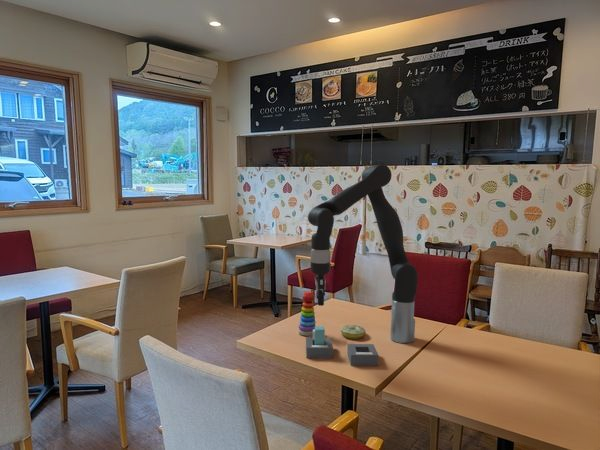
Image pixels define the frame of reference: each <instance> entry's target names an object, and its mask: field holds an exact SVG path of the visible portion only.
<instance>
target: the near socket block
mask: <svg viewBox="0 0 600 450" xmlns="http://www.w3.org/2000/svg"><path fill="white" fill-rule="evenodd" d="M346 355H347V357H348V361H349V364H350V366H351V367H352V366H355V367H360V366H361V367H366V366H367V367H371V366H372V367H376V366H377V367H379V356H380V355H379V354H378V350H377V348H376V346H375V345H374V344H373V343H371V344H370V343H347V354H346Z"/></svg>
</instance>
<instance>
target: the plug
mask: <svg viewBox="0 0 600 450" xmlns="http://www.w3.org/2000/svg"><path fill="white" fill-rule="evenodd" d="M325 333H326V332H325V326H323V325H319V326H318V325H315V329H313V335H312V338H313V339H315V342H314V345H324V340H325V338H326V337H325Z"/></svg>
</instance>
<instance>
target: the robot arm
mask: <svg viewBox="0 0 600 450" xmlns="http://www.w3.org/2000/svg"><path fill="white" fill-rule="evenodd" d="M391 180H392V170H391V168H390V167H389V166H388V165H386V164H383V163H382V164H381V163H380V164H373V165H371V166H367V167H365V168H364V169H363V170H362V173H361V180H360V181H358V182H356V183H355V184H353V185H350V186H349V187H346V188H345V189H343V190H342V191H340V192H338V193H337V194H336V195H334V196H333V197H331V198H330V199H328V200H327V201H324V202H321V203H320V204H318V205H316V206H314V207H313V208H312V209H311V210H310V211H309V213H308V215H307V221H308V222H309V224H311V225H312V226H313V227H316V232H315V233H313V234H312V235H311V240H310V242H311V244H310V245H311V246H310V247H311V248H310V250H311V251H310V273H312V274H313V275H315V276H314V281H315V284H314V285H315V291H316V299H317V305H318V306H321V307H324V305H325V304H324V303H325V295H326V292H325V291H326V282H327V281H326V280H327V278H326V276H325V275H328V274H330V273H331V249H330V248H331V240H330V239H331V238H330V237H331V235H332V232H333V227H334V224H335V218H334V216H340V215H341V214H343V213H344V212H346V211H347V210H348V209H350V208H351V207H352V206H354V205H356V203H358V202H359V201H360V200H362V199H363V198H365V197H366V196H367V197H368V199H369V202H370V204H371V207H372V212H373V213H374V217H375V220H376V223H377V224H376V225H377V228H378V231H379V234H380V236H381V239H382V242H383V246H384V248H385V251H386V252H387V256H388V263H389V267H390V273H391V276H392V279H394V290H393V292H392V295H391V313H390V314H391V315H390V316H391V317H390V318H391V319H390V340H391V341H393V342H396V343H398V344H410V343H412V342H415V330H416V329H415V327H416V319H415V318H414V315H415V298H416V296H417V291H418V290H417V289H418V277H419V276H418V271H417V268H416V267H415V266H414V265H412V264H411V263H410V261H409V259H408V256H407V254H406V251H405V246H404V232H403V231H404V229H403V226H402V222H401V220H400V217H399V214H398V212H397V210H395V208H394V207H393V205H392V204H391V203H390V202H389V201H388V200H387V198H386V196H385V194H384V190H383V187H385V186H387V185H389V183H390V182H391Z"/></svg>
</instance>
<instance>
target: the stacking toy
mask: <svg viewBox="0 0 600 450" xmlns="http://www.w3.org/2000/svg"><path fill="white" fill-rule="evenodd" d="M314 299H315V295H314V293H313V292H312V291H309V290H308V291H307V290H306V291H304V293H303V294H302V300H303V302H302V307H301V312H300V319H299V324H298V330H297V332H298V334H299V335H301V336H306V337H308V336H309V337H310V336H311V337H312V336H313V329H315V326H316V323H317V321H316V320H315V319H316V316H315V314H316V313H315V308H314V306H315V303H314V302H313V301H314Z"/></svg>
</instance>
